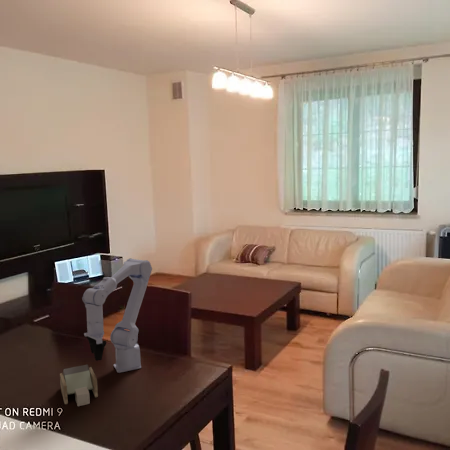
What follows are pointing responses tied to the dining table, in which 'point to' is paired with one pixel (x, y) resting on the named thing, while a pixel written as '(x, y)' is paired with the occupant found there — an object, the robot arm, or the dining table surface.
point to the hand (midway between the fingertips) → (96, 356)
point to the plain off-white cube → (82, 396)
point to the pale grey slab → (77, 378)
